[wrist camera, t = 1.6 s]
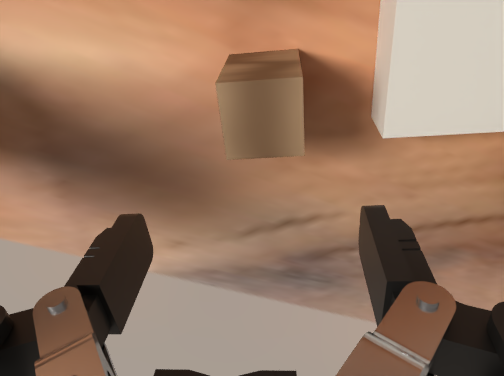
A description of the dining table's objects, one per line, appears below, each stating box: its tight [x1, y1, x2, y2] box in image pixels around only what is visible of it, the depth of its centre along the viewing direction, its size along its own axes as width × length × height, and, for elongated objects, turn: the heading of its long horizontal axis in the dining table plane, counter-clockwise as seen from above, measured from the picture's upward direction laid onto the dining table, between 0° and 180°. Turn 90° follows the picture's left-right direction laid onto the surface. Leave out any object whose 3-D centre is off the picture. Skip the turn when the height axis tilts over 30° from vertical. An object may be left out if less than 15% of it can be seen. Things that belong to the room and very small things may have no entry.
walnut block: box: [215, 49, 305, 160], centre depth 25 cm, size 5×5×7 cm
